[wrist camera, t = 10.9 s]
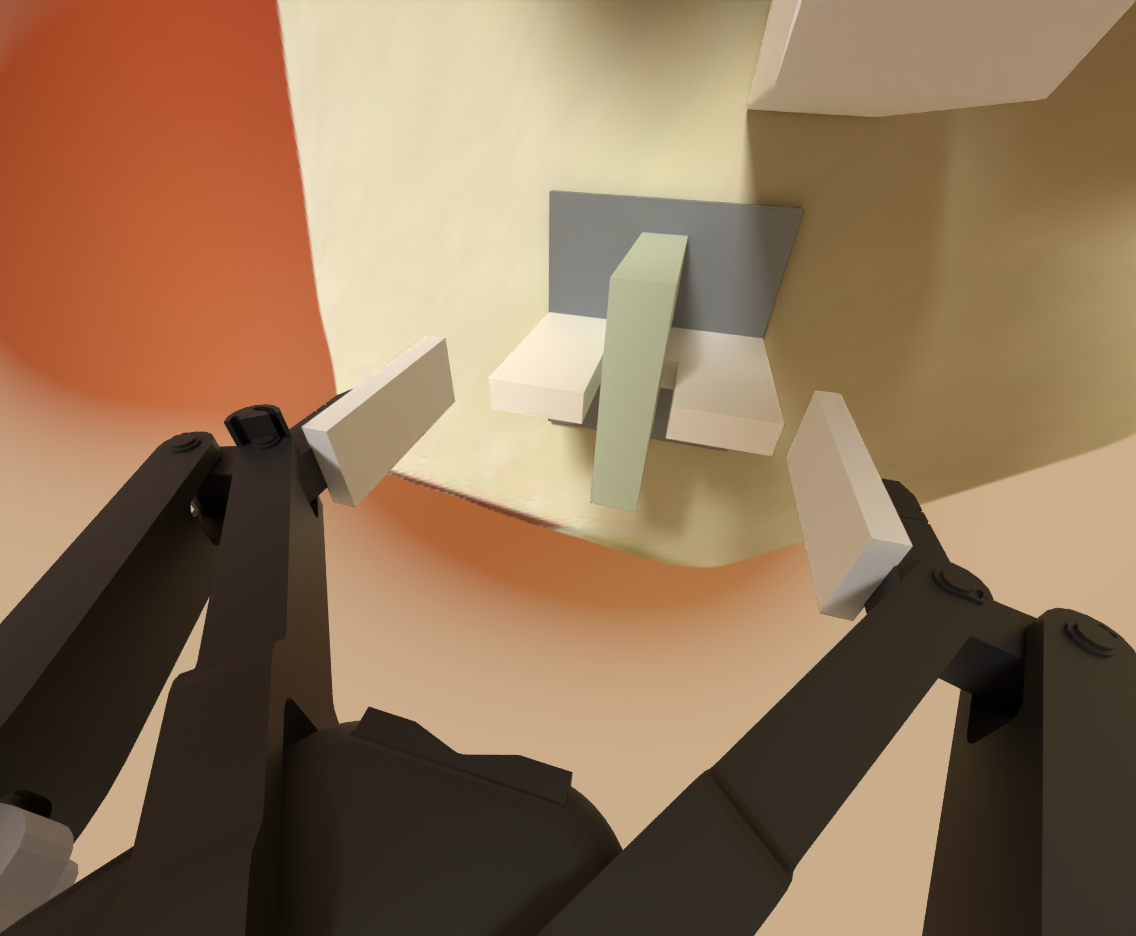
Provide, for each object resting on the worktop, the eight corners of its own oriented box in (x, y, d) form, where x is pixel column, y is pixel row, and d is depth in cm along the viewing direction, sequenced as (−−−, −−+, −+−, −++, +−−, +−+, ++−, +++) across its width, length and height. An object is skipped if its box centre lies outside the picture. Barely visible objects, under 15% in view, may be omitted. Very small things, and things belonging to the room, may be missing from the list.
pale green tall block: (642, 232, 29) (610, 277, 20) (687, 235, 28) (676, 284, 19) (619, 412, 38) (590, 503, 28) (654, 418, 37) (635, 512, 28)
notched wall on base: (550, 417, 40) (499, 506, 31) (552, 190, 29) (474, 218, 20) (726, 447, 38) (731, 555, 28) (802, 207, 26) (854, 250, 17)
